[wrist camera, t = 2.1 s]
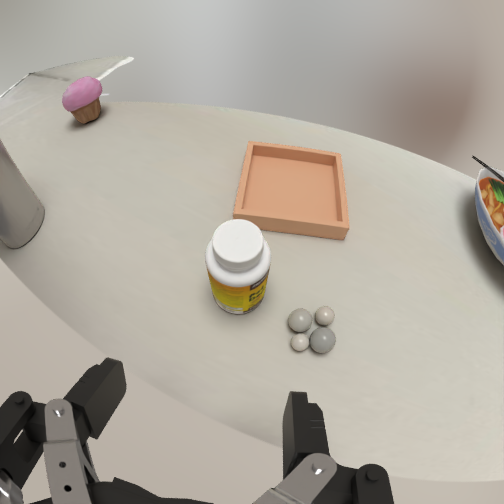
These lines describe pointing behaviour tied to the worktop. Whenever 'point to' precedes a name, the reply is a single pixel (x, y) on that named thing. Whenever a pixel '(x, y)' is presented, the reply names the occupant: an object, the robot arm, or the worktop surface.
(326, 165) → the terracotta dish
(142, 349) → the worktop surface
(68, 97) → the cupcake
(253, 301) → the supplement bottle
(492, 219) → the ramen bowl
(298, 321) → the pebbles
